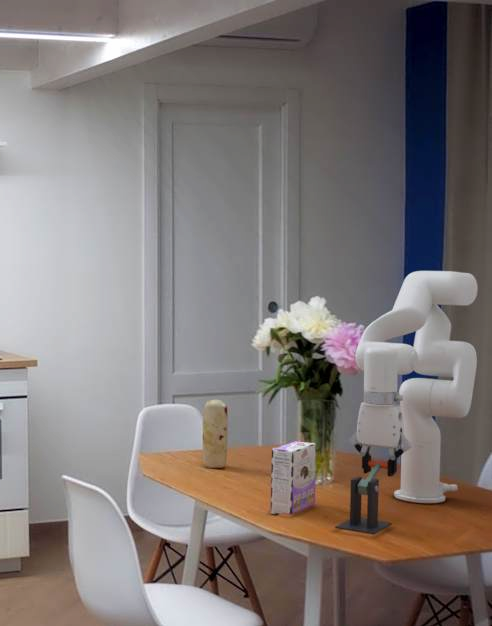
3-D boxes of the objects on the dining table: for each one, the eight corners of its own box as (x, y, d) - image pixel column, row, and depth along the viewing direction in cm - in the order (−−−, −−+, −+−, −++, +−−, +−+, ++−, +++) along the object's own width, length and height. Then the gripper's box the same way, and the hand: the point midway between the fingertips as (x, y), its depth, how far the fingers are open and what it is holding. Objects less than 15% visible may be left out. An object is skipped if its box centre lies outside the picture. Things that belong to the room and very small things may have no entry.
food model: (232, 469, 316) (233, 402, 314) (213, 470, 313) (214, 403, 312) (215, 462, 325) (216, 397, 324) (196, 464, 322) (197, 398, 321)
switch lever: (370, 466, 256) (369, 457, 255) (391, 468, 253) (390, 460, 252) (352, 493, 247) (351, 484, 247) (373, 496, 244) (372, 487, 243)
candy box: (293, 503, 272) (295, 440, 271) (315, 507, 268) (317, 442, 267) (269, 514, 261) (270, 447, 260) (291, 517, 258) (293, 450, 257)
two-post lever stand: (354, 521, 254) (355, 472, 254) (391, 527, 249) (393, 477, 248) (334, 531, 245) (336, 481, 244) (373, 538, 240) (374, 486, 239)
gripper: (422, 399, 250) (420, 475, 251) (351, 393, 261) (350, 466, 262) (411, 403, 244) (410, 481, 246) (339, 397, 255) (338, 472, 256)
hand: (379, 473), depth 254 cm, fingers closed on switch lever, 5 cm apart
